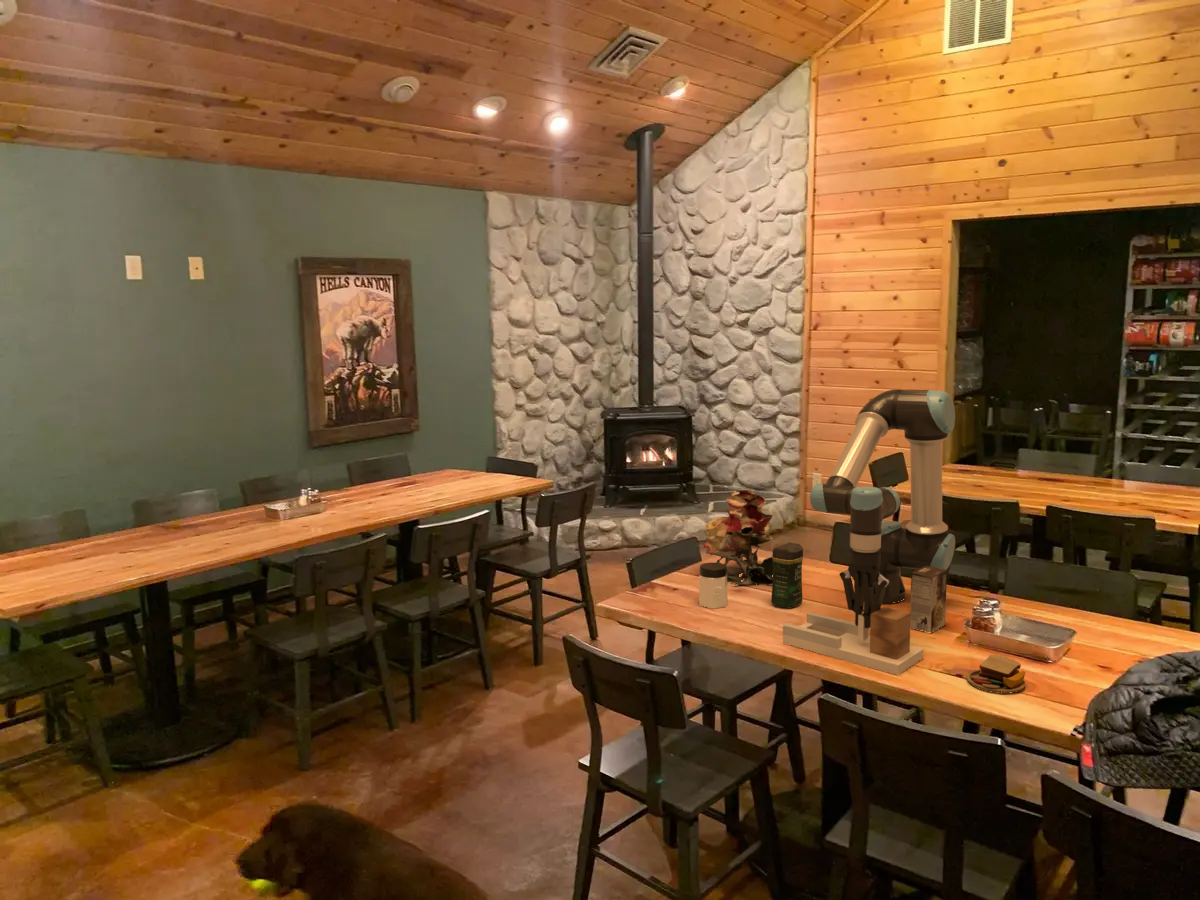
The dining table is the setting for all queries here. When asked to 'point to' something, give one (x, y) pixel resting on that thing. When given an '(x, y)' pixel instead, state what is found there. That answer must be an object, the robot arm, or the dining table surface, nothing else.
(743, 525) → the rose bouquet
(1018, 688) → the toy sandwich meal
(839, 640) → the slotted wooden base
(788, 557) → the coffee jar
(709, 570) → the jar
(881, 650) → the walnut block
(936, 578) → the coffee box
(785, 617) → the dining table surface
